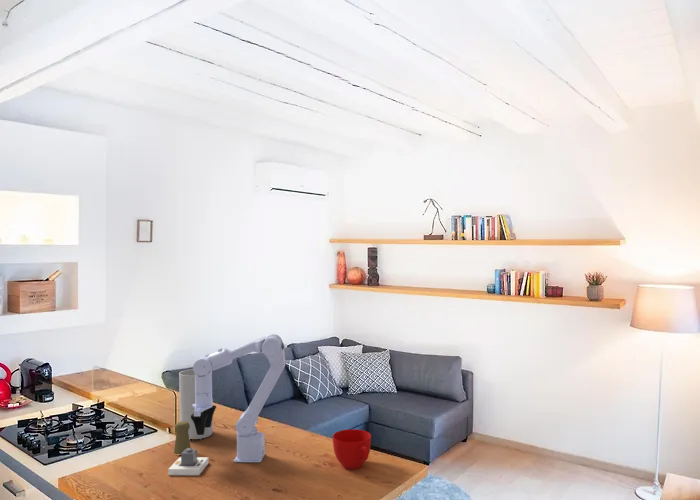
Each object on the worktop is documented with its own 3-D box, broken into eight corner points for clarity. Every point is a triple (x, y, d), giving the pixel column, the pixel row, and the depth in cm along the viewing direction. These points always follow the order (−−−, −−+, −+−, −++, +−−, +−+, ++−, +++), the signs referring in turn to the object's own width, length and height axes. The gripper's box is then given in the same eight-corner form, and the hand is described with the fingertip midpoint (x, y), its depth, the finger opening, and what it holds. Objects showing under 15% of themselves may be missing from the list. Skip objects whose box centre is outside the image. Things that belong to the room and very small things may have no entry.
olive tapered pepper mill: (186, 456, 191) (185, 425, 191) (170, 455, 192) (170, 424, 192) (194, 450, 197) (193, 420, 197) (179, 448, 198) (178, 419, 198)
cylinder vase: (219, 433, 215) (218, 370, 215) (195, 443, 204) (194, 377, 204) (197, 428, 221) (197, 367, 221) (173, 437, 211) (172, 373, 211)
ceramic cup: (349, 480, 169) (348, 449, 169) (326, 462, 184) (326, 433, 184) (384, 472, 175) (384, 441, 175) (359, 455, 190) (359, 426, 190)
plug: (197, 466, 182) (197, 446, 182) (193, 471, 178) (192, 451, 178) (185, 466, 182) (185, 446, 182) (181, 471, 178) (181, 451, 178)
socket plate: (208, 463, 185) (208, 456, 185) (198, 475, 175) (198, 468, 175) (179, 462, 185) (179, 456, 185) (168, 475, 175) (168, 468, 175)
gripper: (199, 386, 196) (199, 424, 196) (184, 397, 181) (185, 438, 181) (218, 386, 195) (218, 424, 195) (205, 397, 181) (206, 438, 181)
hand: (204, 430), depth 188 cm, fingers open, 7 cm apart
